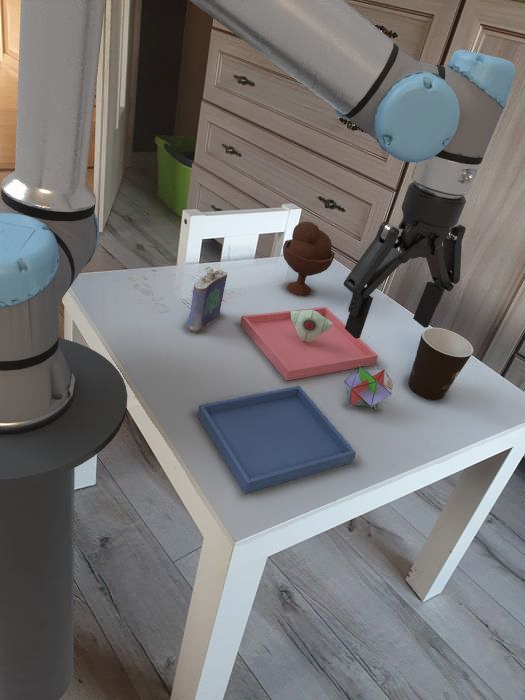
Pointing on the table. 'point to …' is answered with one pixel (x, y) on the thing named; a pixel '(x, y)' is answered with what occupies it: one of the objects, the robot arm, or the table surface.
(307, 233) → the ice cream bowl
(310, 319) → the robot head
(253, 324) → the rose tray
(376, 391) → the wire icosahedron model
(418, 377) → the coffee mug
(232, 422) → the blue tray
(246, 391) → the table surface
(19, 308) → the robot arm
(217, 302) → the flask
